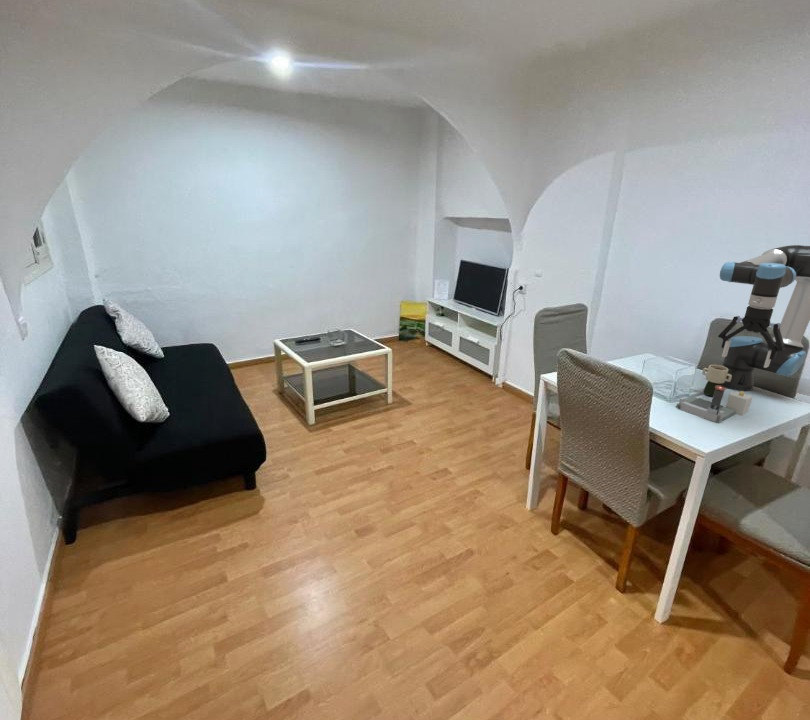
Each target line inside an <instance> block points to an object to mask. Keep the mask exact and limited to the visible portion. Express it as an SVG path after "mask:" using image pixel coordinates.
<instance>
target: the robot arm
mask: <svg viewBox="0 0 810 720" xmlns="http://www.w3.org/2000/svg"><path fill="white" fill-rule="evenodd" d="M719 278H720V280H721V281H723V282H729V283H736V284H742V285H743V284H746V285H752V290H751V293H750V296H749V299H748V303H747V304H748V305H747V307H746V309H745V310H746V311H745V314H744V317H741V316H740V315H736V316H733V318H732V320H731V322H730V323H729V324H728V325H726V327H725V328H724V329H723V330H722V331H721V332H720V333H719V335H718V338H720V339H722V344H721V348H722V349H723V351H722V354H721V358H723V361H722V365H721V366H724V367H726V368H728V373H727V374H730V375H732V378H731V381H730V382H728V381H725V382H724V383H721V386H724V387H725V388H726V389H729V390H730V389H731V390H735V391H744V392H745V391H751V390H752V391H753V388H754V386H755V382H754V370H755V369H757V370H761V371H764V372H765V371H766V372H768V373H773V374H776V375H782V376H785V377H790V376H792V375H794V374H796V373H797V372H798V370H799V369H800V368H801V367H802V365H803V363H804V361H805V359H806V356H807V352H806V351H805V350H804V347H805V346H804V345H803V343H802V341H803V340H802V339H803V337H804V335H805V333H806V330H807V329H808V328H807V327H808V326H809V323H810V245H799V244H795V245H792V244H791V245H783V246H778V247H775V248H772V249H768V250H766V251H764V252H763V253H762V254H761V255H758V256H755V257H753V258H752V257H751V258H749V259H746V260H744V261H741V262H736V261H731V262H730V261H727V262H724V264H723V265H722V266H721V268H720V272H719ZM794 281H796V283H795V286H794V289H793V291H792V294H791V296H790V299H789V300H788V303H787V306H786V309H785V312H784V314H783V316H782V318H781V320H780V321H781V322H780V323H779V322H776V323H774V322H771V318H772V316H773V313H774V308H775V305H776V302H777V300H778V299H777V298H778V295H779V291H780V289H781V288H785V287H788V286H790V285H791V284H793V283H794ZM740 322H741V324H743V325H742V326H741V327H739V328H738V329H736V330H733V332H731V333H729V332H730V331H731V330H732V329H733V328H734V327H735V326H736V325H737V324H738V323H740ZM769 327H770V328H771V330H772V332H773V336H774V337H772V336H771V334H770V333H769V330H768V328H769ZM745 330H746V331H747V332H753V333H756V334H758V333H760V335H761V336H762V337H763V338H762V337H757V336H752V335H751V336H749V335H747V336H746V335H739V334H740V333H741V332H743V331H745ZM728 333H729V334H728ZM727 334H728V335H727ZM737 335H738V336H737ZM763 339H764V340H765V342H766V343H765V342H764V340H763ZM728 378H729V376H727V377H726V379H728Z"/></svg>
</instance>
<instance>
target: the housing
mask: <svg viewBox="0 0 810 720" xmlns="http://www.w3.org/2000/svg"><path fill="white" fill-rule="evenodd" d="M753 397H754V396H752V395H749V394H746V393H745V391H742V390H739V391H738V390H735V391H734V392H733V391H732V392H731V393H729V394H728V398H727V400H726V404H725V407H726V408H729V409H732V410H735V411H736V412H735V415H739V416H743V415H745V414H747V413H749V411H750V406H751V403H752V401H753Z"/></svg>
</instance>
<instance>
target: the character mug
mask: <svg viewBox="0 0 810 720" xmlns="http://www.w3.org/2000/svg"><path fill="white" fill-rule="evenodd" d="M706 371H707V372H706ZM701 373H702V375H703V376H705V380H707V382H706V384H705V386H704V389H703V391H702V392H703V393H704V394H705V395H707V396H711V397H713V396H714V392H715V386H716V385H720V386H721V383H724V382H725V381H728V382H730V381H731V378H732V375H730V374H727V373H728V368H726V367H724V366H722V365H719V364H709V365H708V368H707V367H704V368H703V369H702V372H701ZM727 376H729V378H728V379H726V377H727Z"/></svg>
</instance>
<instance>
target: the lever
mask: <svg viewBox="0 0 810 720" xmlns="http://www.w3.org/2000/svg"><path fill="white" fill-rule="evenodd" d="M726 390H727V388H726V387H724V386H720V385H716V386H715V392H714V396H712V399H711V402H712V403H711V406H710V407H708V410H707V412H710V413H713V414H716V415H717V414H718V413H719V412H720V411H721V408H719V407H720V405H722V404H721V403H722V400H723V396H724V393H725V391H726Z"/></svg>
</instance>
